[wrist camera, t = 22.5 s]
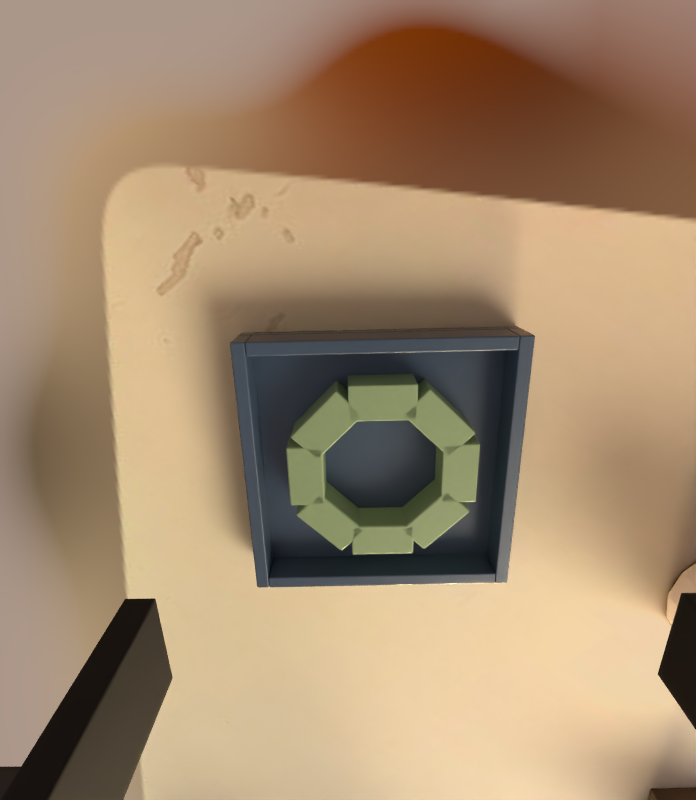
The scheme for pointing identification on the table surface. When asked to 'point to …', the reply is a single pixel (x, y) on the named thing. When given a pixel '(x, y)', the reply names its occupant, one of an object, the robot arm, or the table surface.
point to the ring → (382, 524)
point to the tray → (382, 448)
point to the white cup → (681, 590)
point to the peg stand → (672, 794)
